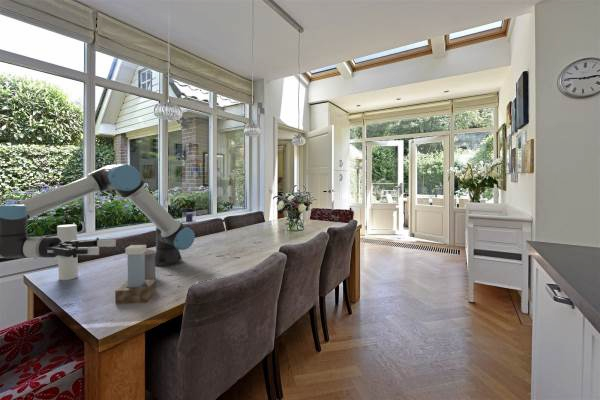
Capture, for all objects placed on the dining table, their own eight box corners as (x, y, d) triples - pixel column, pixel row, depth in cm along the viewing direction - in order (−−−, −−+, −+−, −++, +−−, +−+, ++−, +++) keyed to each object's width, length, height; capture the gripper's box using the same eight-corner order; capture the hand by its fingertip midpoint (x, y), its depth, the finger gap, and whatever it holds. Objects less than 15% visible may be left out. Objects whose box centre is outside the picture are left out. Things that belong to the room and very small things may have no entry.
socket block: (115, 306, 107) (115, 290, 106) (127, 294, 118) (127, 280, 117) (147, 304, 109) (147, 289, 109) (156, 293, 120) (155, 279, 119)
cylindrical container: (81, 276, 138) (80, 225, 136) (65, 281, 131) (63, 227, 130) (71, 274, 140) (70, 224, 139) (55, 278, 134) (53, 226, 132)
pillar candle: (133, 278, 137) (133, 247, 136) (156, 275, 141) (155, 246, 140) (130, 285, 128) (129, 252, 127) (154, 282, 132) (154, 251, 131)
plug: (126, 300, 110) (125, 248, 109) (131, 294, 115) (131, 245, 114) (142, 299, 111) (141, 248, 110) (146, 293, 117) (146, 244, 115)
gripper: (65, 249, 118) (121, 248, 122) (18, 267, 94) (90, 265, 98) (64, 231, 118) (121, 231, 122) (17, 244, 93) (90, 244, 97)
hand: (107, 246), depth 110 cm, fingers open, 13 cm apart
